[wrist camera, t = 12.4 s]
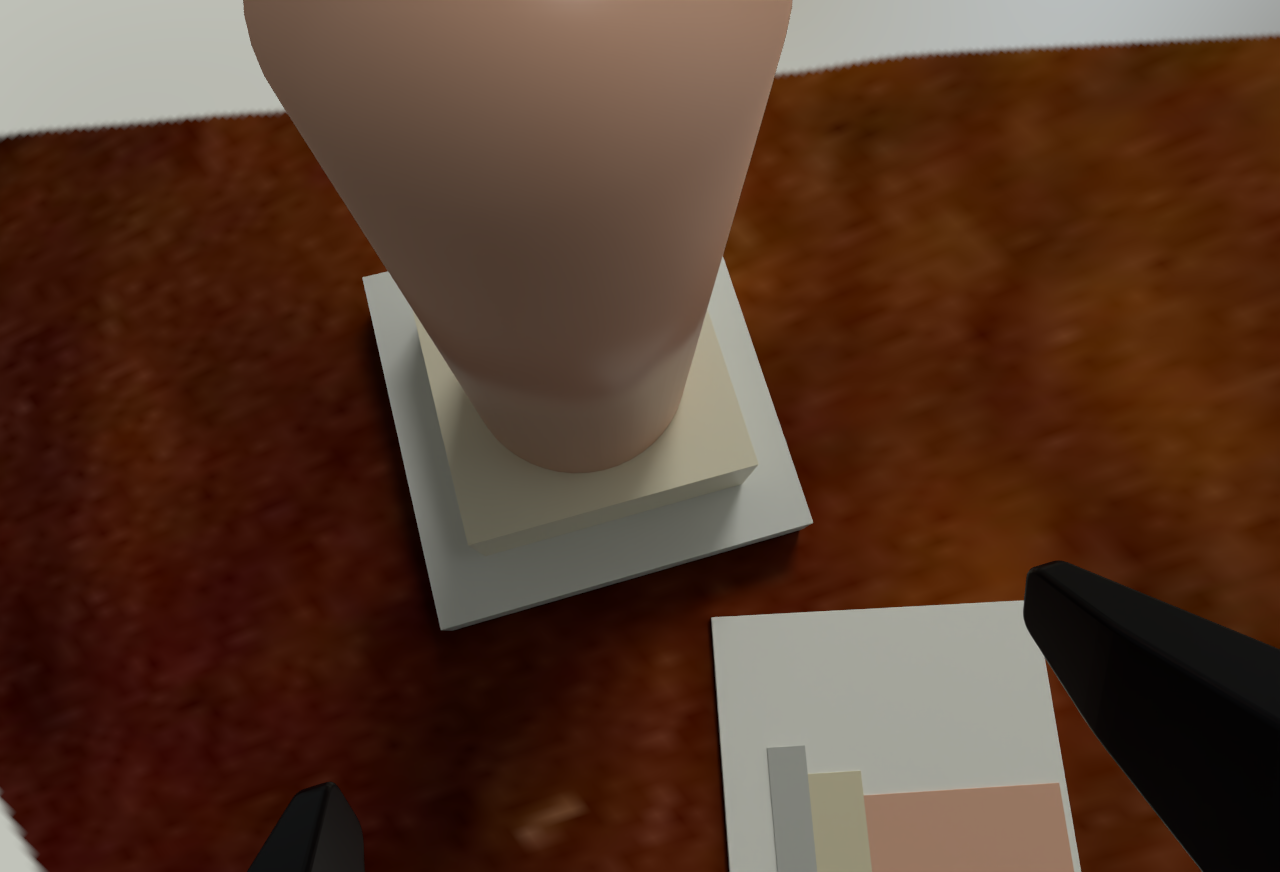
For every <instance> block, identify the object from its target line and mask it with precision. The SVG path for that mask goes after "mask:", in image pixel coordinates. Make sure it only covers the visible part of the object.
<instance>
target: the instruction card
mask: <svg viewBox="0 0 1280 872" xmlns="http://www.w3.org/2000/svg"><path fill="white" fill-rule="evenodd" d="M1023 606H1024V601H1005V602H987V603H968V604H950V605H931V606H913V607H894V608H876V609H857V610H839V611H820V612H802V613H783V614H765V615H747V616H728V617H711V628H712V642H713V655H714V669H715V683H716V697H717V710H718V724H719V738H720V751H721V765H722V779H723V792H724V806H725V820H726V834H727V847H728V861H729V872H1081V868H1080V862H1079V857H1078V851H1077V845H1076V839H1075V833H1074V827H1073V821H1072V816H1071V810H1070V804H1069V798H1068V792H1067V786H1066V780H1065V774H1064V769H1063V763H1062V757H1061V751H1060V745H1059V739H1058V733H1057V728H1056V722H1055V716H1054V710H1053V704H1052V698H1051V692H1050V686H1049V681H1048V675H1047V669H1046V663H1045V657H1044V655H1043V654H1042V652H1041V651H1040V649H1039V647H1038V646H1037V644H1036V643H1035V641H1034V640H1033V638H1032V637H1031V635H1030V633H1029V632H1028V630H1027V628H1026V625H1025V622H1024V618H1023Z"/></svg>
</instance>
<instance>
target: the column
mask: <svg viewBox="0 0 1280 872" xmlns="http://www.w3.org/2000/svg"><path fill="white" fill-rule="evenodd" d="M243 3H244V15H245V20H246V24H247V28H248V32H249V37H250V41H251V45H252V47H253V49H254V52H255V55H256V57H257V60H258V62H259V65H260V67H261V69H262V72H263V74H264V76H265V78H266V79H267V81H268V83H269V84H270V86H271V88H272V89H273V91H274V92H275V94H276V96H277V97H278V99H279V101H280V102H281V104H282V105H283V107H284V109H285V110H286V112H287V113H288V115H289V116H290V118H291V120H292V121H293V123H294V124H295V126H296V127H297V129H298V131H299V132H300V134H301V135H302V137H303V138H304V140H305V142H306V143H307V145H308V146H309V148H310V149H311V151H312V153H313V154H314V156H315V157H316V159H317V160H318V162H319V164H320V165H321V167H322V168H323V170H324V171H325V173H326V175H327V176H328V178H329V179H330V181H331V182H332V184H333V186H334V187H335V189H336V190H337V192H338V193H339V195H340V197H341V198H342V200H343V201H344V203H345V204H346V206H347V208H348V209H349V211H350V212H351V214H352V215H353V217H354V219H355V220H356V222H357V223H358V225H359V226H360V228H361V230H362V231H363V233H364V234H365V236H366V237H367V239H368V241H369V242H370V244H371V245H372V247H373V248H374V250H375V252H376V253H377V255H378V256H379V258H380V259H381V261H382V262H383V264H384V266H385V267H386V269H387V270H388V272H389V273H390V275H391V277H392V278H393V280H394V281H395V283H396V284H397V286H398V288H399V289H400V291H401V292H402V294H403V295H404V297H405V299H406V300H407V302H408V303H409V305H410V306H411V308H412V310H413V311H414V313H415V314H416V316H417V317H418V319H419V321H420V322H421V324H422V325H423V327H424V328H425V330H426V332H427V333H428V335H429V336H430V338H431V339H432V341H433V343H434V344H435V346H436V347H437V349H438V350H439V352H440V354H441V355H442V357H443V358H444V360H445V361H446V363H447V365H448V366H449V368H450V369H451V371H452V372H453V374H454V376H455V377H456V379H457V380H458V382H459V383H460V385H461V387H462V388H463V390H464V391H465V393H466V394H467V396H468V398H469V399H470V401H471V402H472V404H473V405H474V407H475V409H476V410H477V412H478V413H479V415H480V416H481V418H482V420H483V421H484V423H485V424H486V426H487V427H488V429H489V430H490V431H491V433H492V434H493V435H494V436H495V437H496V439H497V440H498V441H499V442H500V443H502V444H503V445H504V446H505V447H506V448H507V449H508V450H510V451H511V452H512V453H514V454H515V455H517V456H518V457H520V458H522V459H524V460H525V461H527V462H529V463H531V464H534V465H536V466H539V467H542V468H545V469H549V470H553V471H558V472H566V473H590V472H596V471H602V470H605V469H609V468H612V467H615V466H618V465H620V464H622V463H625V462H627V461H629V460H631V459H633V458H634V457H636V456H637V455H639V454H641V453H642V452H643V451H645V450H646V449H647V448H648V447H650V446H651V445H652V444H653V443H654V442H655V441H656V440H657V439H658V438H659V437H660V436H661V435H662V434H663V432H664V431H665V429H666V428H667V427H668V425H669V424H670V422H671V421H672V419H673V417H674V415H675V413H676V411H677V409H678V406H679V404H680V401H681V398H682V395H683V391H684V388H685V384H686V381H687V377H688V374H689V371H690V367H691V364H692V360H693V357H694V353H695V350H696V346H697V343H698V339H699V336H700V332H701V329H702V325H703V322H704V319H705V315H706V312H707V308H708V305H709V301H710V298H711V294H712V291H713V287H714V284H715V280H716V277H717V273H718V270H719V267H720V263H721V260H722V256H723V253H724V249H725V246H726V242H727V239H728V235H729V232H730V228H731V225H732V221H733V218H734V215H735V211H736V208H737V204H738V201H739V197H740V194H741V190H742V187H743V183H744V180H745V176H746V173H747V169H748V166H749V163H750V159H751V156H752V152H753V149H754V145H755V142H756V138H757V135H758V131H759V128H760V124H761V121H762V117H763V114H764V111H765V107H766V104H767V100H768V97H769V93H770V90H771V86H772V83H773V79H774V76H775V72H776V69H777V66H778V62H779V59H780V55H781V52H782V48H783V44H784V41H785V37H786V33H787V28H788V24H789V19H790V14H791V9H792V0H243Z"/></svg>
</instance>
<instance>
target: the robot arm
mask: <svg viewBox="0 0 1280 872" xmlns="http://www.w3.org/2000/svg"><path fill="white" fill-rule="evenodd" d="M1023 618H1024V622H1025V625H1026V628H1027V630H1028V632H1029V633H1030V635H1031V637H1032V638H1033V640H1034V641H1035V643H1036V644H1037V646H1038V647H1039V649H1040V651H1041V652H1042V654H1043V655H1044V657H1045V658H1046V660H1047V662H1048V663H1049V665H1050V666H1051V668H1052V669H1053V671H1054V673H1055V674H1056V676H1057V677H1058V679H1059V680H1060V682H1061V684H1062V685H1063V687H1064V688H1065V690H1066V691H1067V693H1068V695H1069V696H1070V698H1071V699H1072V701H1073V702H1074V704H1075V706H1076V707H1077V709H1078V710H1079V712H1080V713H1081V715H1082V717H1083V718H1084V719H1085V721H1086V722H1087V724H1088V725H1089V727H1090V728H1091V730H1092V731H1093V733H1094V734H1095V735H1096V737H1097V738H1098V739H1099V741H1100V742H1101V743H1102V745H1103V746H1104V747H1105V749H1106V750H1107V751H1108V753H1109V754H1110V755H1111V756H1112V758H1113V759H1114V760H1115V762H1116V763H1117V764H1118V765H1119V767H1120V768H1121V769H1122V770H1123V772H1124V773H1125V774H1126V775H1127V777H1128V778H1129V779H1130V781H1131V782H1132V783H1133V784H1134V786H1135V787H1136V788H1137V789H1138V791H1139V792H1140V793H1141V794H1142V796H1143V797H1144V798H1145V800H1146V801H1147V802H1148V803H1149V805H1150V806H1151V807H1152V808H1153V810H1154V811H1155V812H1156V814H1157V815H1158V816H1159V817H1160V819H1161V820H1162V821H1163V822H1164V824H1165V825H1166V826H1167V827H1168V829H1169V830H1170V831H1171V833H1172V834H1173V835H1174V836H1175V838H1176V839H1177V840H1178V841H1179V843H1180V844H1181V845H1182V846H1183V848H1184V849H1185V850H1186V852H1187V853H1188V854H1189V855H1190V857H1191V858H1192V859H1193V860H1194V862H1195V863H1196V864H1197V866H1198V867H1199V868H1200V869H1201V871H1202V872H1280V649H1278V648H1275V647H1273V646H1270V645H1268V644H1265V643H1263V642H1261V641H1258V640H1256V639H1253V638H1251V637H1248V636H1246V635H1243V634H1241V633H1239V632H1236V631H1234V630H1231V629H1229V628H1226V627H1224V626H1221V625H1219V624H1217V623H1214V622H1212V621H1209V620H1207V619H1204V618H1202V617H1200V616H1197V615H1195V614H1192V613H1190V612H1187V611H1185V610H1182V609H1180V608H1178V607H1175V606H1173V605H1170V604H1168V603H1165V602H1163V601H1160V600H1158V599H1156V598H1153V597H1151V596H1148V595H1146V594H1143V593H1141V592H1138V591H1136V590H1134V589H1131V588H1129V587H1126V586H1124V585H1121V584H1119V583H1117V582H1114V581H1112V580H1109V579H1107V578H1104V577H1102V576H1099V575H1097V574H1095V573H1092V572H1090V571H1087V570H1085V569H1082V568H1080V567H1077V566H1075V565H1073V564H1070V563H1068V562H1064V561H1052V562H1049V563H1046V564H1042V565H1039V566H1036V567H1033V568H1031V569H1030V571H1029V572H1028V573H1027V577H1026V587H1025V596H1024V606H1023ZM247 872H365V867H364V844H363V834H362V829H361V825H360V823H359V820H358V818H357V817H356V815H355V813H354V812H353V810H352V808H351V807H350V805H349V804H348V802H347V800H346V799H345V797H344V795H343V794H342V792H341V790H340V789H339V787H338V786H337V785H336V784H335V783H333V782H326V783H322V784H319V785H316V786H313V787H309V788H306V789H303V790H301V791H299V792H298V793H297V794H296V795H295V796H294V797H293V799H292V800H291V802H290V803H289V805H288V807H287V808H286V810H285V811H284V813H283V815H282V816H281V818H280V819H279V821H278V823H277V824H276V826H275V828H274V829H273V831H272V832H271V834H270V836H269V837H268V839H267V840H266V842H265V844H264V845H263V847H262V848H261V850H260V852H259V853H258V855H257V857H256V858H255V860H254V861H253V863H252V865H251V866H250V868H249V869H248V871H247Z"/></svg>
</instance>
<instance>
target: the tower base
mask: <svg viewBox="0 0 1280 872" xmlns="http://www.w3.org/2000/svg"><path fill="white" fill-rule="evenodd" d="M363 282H364V287H365V291H366V296H367V300H368V305H369V309H370V314H371V318H372V323H373V327H374V332H375V336H376V341H377V345H378V350H379V354H380V359H381V363H382V368H383V372H384V377H385V381H386V386H387V390H388V395H389V399H390V404H391V408H392V413H393V417H394V422H395V426H396V431H397V435H398V440H399V444H400V449H401V453H402V458H403V462H404V467H405V471H406V476H407V480H408V485H409V489H410V494H411V498H412V503H413V507H414V512H415V516H416V521H417V525H418V530H419V534H420V539H421V543H422V548H423V552H424V557H425V562H426V566H427V571H428V575H429V580H430V584H431V589H432V593H433V598H434V602H435V607H436V611H437V616H438V620H439V625H440V629H441V630H449V631H453V630H456V629H460V628H463V627H467V626H470V625H474V624H477V623H481V622H484V621H487V620H491V619H494V618H498V617H501V616H505V615H508V614H512V613H515V612H519V611H522V610H525V609H529V608H532V607H536V606H539V605H543V604H546V603H550V602H553V601H557V600H560V599H564V598H567V597H570V596H574V595H577V594H581V593H584V592H588V591H591V590H595V589H598V588H602V587H605V586H608V585H612V584H615V583H619V582H622V581H626V580H629V579H633V578H636V577H640V576H643V575H647V574H650V573H653V572H657V571H660V570H664V569H667V568H671V567H674V566H678V565H681V564H685V563H688V562H691V561H695V560H698V559H702V558H705V557H709V556H712V555H716V554H719V553H723V552H726V551H730V550H733V549H736V548H740V547H743V546H747V545H750V544H754V543H757V542H761V541H764V540H768V539H771V538H774V537H778V536H781V535H785V534H788V533H792V532H795V531H799V530H801V529H803V528H805V527H806V526H808V525H810V524H812V523H813V521H812V518H811V515H810V512H809V509H808V506H807V503H806V500H805V497H804V494H803V491H802V488H801V485H800V482H799V479H798V476H797V473H796V471H795V468H794V465H793V462H792V459H791V456H790V453H789V450H788V447H787V444H786V441H785V438H784V435H783V432H782V429H781V426H780V423H779V420H778V418H777V415H776V412H775V409H774V406H773V403H772V400H771V397H770V394H769V391H768V388H767V385H766V382H765V379H764V376H763V373H762V370H761V367H760V365H759V362H758V359H757V356H756V353H755V350H754V347H753V344H752V341H751V338H750V335H749V332H748V329H747V326H746V323H745V320H744V317H743V314H742V312H741V309H740V306H739V303H738V300H737V297H736V294H735V291H734V288H733V285H732V282H731V279H730V276H729V273H728V270H727V267H726V264H725V261H724V259H723V256H722V260H721V263H720V267H719V270H718V273H717V277H716V280H715V284H714V287H713V291H712V294H711V298H710V301H709V305H708V308H707V312H706V315H705V319H704V322H703V325H702V329H701V332H700V336H699V339H698V343H697V346H696V350H695V353H694V357H693V360H692V364H691V367H690V371H689V374H688V377H687V381H686V384H685V388H684V391H683V395H682V398H681V401H680V404H679V406H678V409H677V411H676V413H675V415H674V417H673V419H672V421H671V422H670V424H669V425H668V427H667V428H666V429H665V431H664V432H663V434H662V435H661V436H660V437H659V438H658V439H657V440H656V441H655V442H654V443H653V444H652V445H651V446H650V447H648V448H647V449H646V450H645V451H643V452H642V453H641V454H639V455H637V456H636V457H634V458H633V459H631V460H629V461H627V462H625V463H622V464H620V465H618V466H615V467H612V468H609V469H605V470H602V471H596V472H590V473H566V472H558V471H553V470H549V469H545V468H542V467H539V466H536V465H534V464H531V463H529V462H527V461H525V460H524V459H522V458H520V457H518V456H517V455H515V454H514V453H512V452H511V451H510V450H508V449H507V448H506V447H505V446H504V445H503V444H502V443H500V442H499V441H498V440H497V439H496V437H495V436H494V435H493V434H492V433H491V431H490V430H489V429H488V427H487V426H486V424H485V423H484V421H483V420H482V418H481V416H480V415H479V413H478V412H477V410H476V409H475V407H474V405H473V404H472V402H471V401H470V399H469V398H468V396H467V394H466V393H465V391H464V390H463V388H462V387H461V385H460V383H459V382H458V380H457V379H456V377H455V376H454V374H453V372H452V371H451V369H450V368H449V366H448V365H447V363H446V361H445V360H444V358H443V357H442V355H441V354H440V352H439V350H438V349H437V347H436V346H435V344H434V343H433V341H432V339H431V338H430V336H429V335H428V333H427V332H426V330H425V328H424V327H423V325H422V324H421V322H420V321H419V319H418V317H417V316H416V314H415V313H414V311H413V310H412V308H411V306H410V305H409V303H408V302H407V300H406V299H405V297H404V295H403V294H402V292H401V291H400V289H399V288H398V286H397V284H396V283H395V281H394V280H393V278H392V277H391V275H390V273H389V272H384V273H380V274H376V275H371V276H367V277H363Z"/></svg>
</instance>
